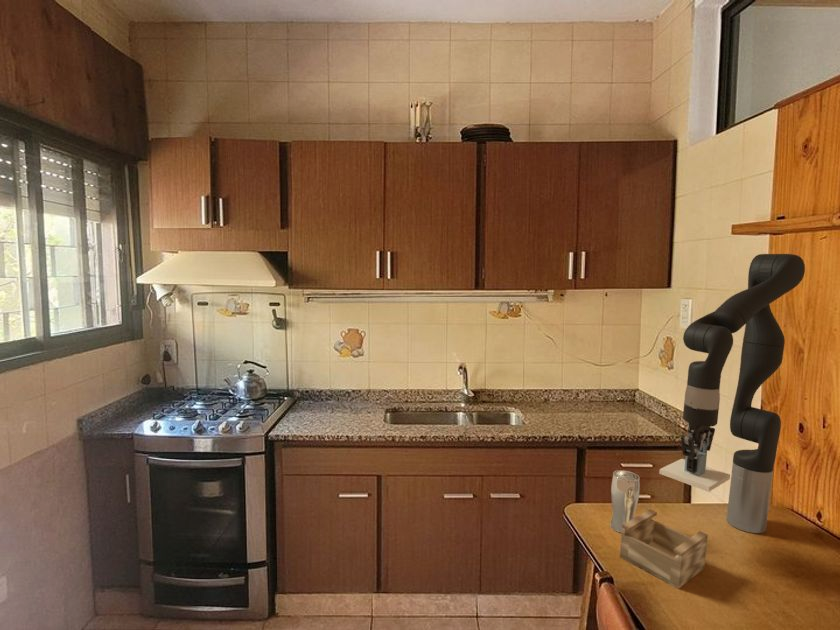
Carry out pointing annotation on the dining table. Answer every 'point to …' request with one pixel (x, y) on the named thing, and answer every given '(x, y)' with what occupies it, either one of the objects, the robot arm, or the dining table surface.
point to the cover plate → (693, 479)
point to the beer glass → (624, 497)
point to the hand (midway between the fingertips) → (694, 469)
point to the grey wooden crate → (662, 549)
